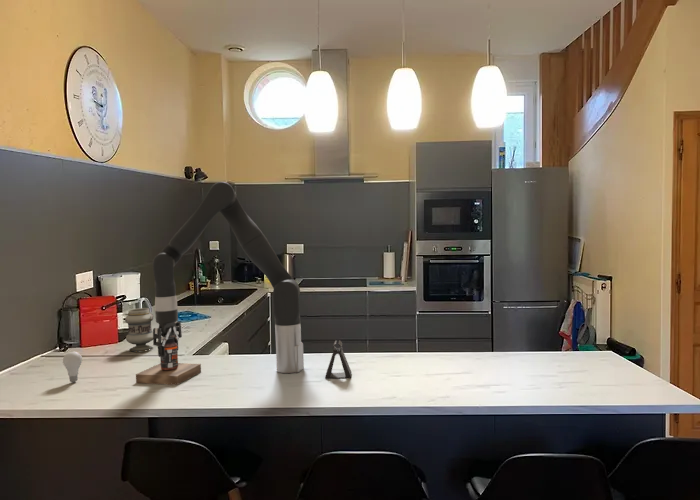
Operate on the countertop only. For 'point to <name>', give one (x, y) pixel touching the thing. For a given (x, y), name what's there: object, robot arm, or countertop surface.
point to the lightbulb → (72, 365)
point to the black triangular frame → (344, 363)
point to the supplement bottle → (170, 355)
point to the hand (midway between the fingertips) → (168, 353)
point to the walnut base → (168, 374)
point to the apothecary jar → (139, 328)
